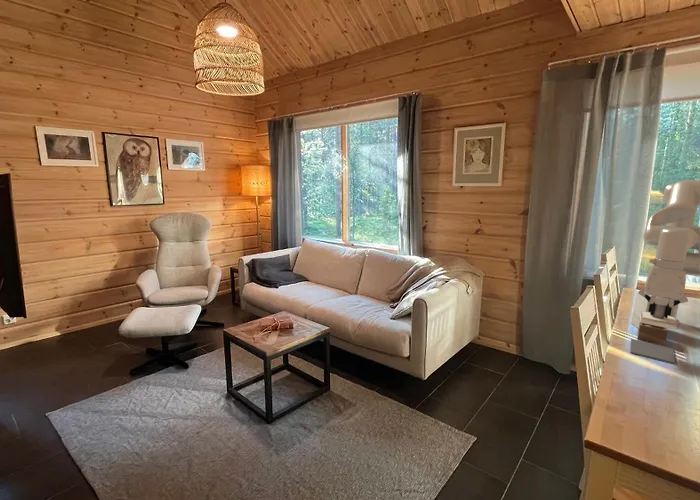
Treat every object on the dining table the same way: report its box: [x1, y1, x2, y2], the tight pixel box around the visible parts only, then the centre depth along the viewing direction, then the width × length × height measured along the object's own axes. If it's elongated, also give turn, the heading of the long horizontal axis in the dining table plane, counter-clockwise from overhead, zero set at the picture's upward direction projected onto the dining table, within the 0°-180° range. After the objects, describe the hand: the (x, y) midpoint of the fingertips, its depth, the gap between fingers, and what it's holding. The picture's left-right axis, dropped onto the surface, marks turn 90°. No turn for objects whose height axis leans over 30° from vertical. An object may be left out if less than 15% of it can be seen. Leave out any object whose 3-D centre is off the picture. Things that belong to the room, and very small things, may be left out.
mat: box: [629, 338, 676, 365], centre depth 130 cm, size 14×12×1 cm
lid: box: [640, 304, 678, 330], centre depth 127 cm, size 9×9×6 cm
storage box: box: [637, 323, 668, 346], centre depth 139 cm, size 8×8×6 cm
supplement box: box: [630, 290, 669, 329], centre depth 150 cm, size 9×9×15 cm
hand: (658, 315), depth 127 cm, fingers closed on lid, 3 cm apart
